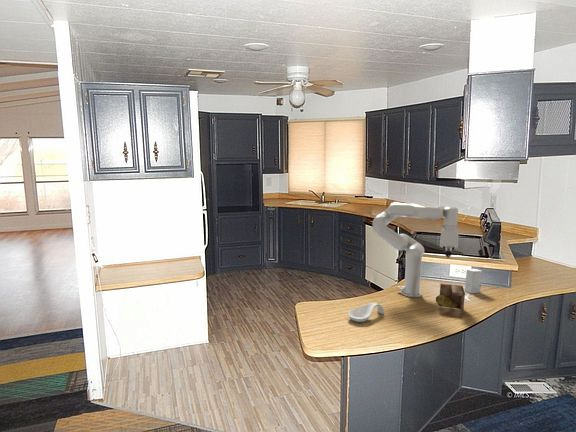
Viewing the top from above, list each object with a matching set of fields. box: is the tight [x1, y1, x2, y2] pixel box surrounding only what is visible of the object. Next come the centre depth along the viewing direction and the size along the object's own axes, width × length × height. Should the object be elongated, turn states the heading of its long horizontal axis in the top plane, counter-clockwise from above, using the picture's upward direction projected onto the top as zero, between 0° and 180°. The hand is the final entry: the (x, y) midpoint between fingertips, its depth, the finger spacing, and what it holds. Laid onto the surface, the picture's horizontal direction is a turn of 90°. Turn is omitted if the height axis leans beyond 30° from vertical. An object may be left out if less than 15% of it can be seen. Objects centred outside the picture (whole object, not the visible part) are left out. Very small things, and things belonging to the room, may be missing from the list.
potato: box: [435, 294, 459, 309], centre depth 242 cm, size 8×13×8 cm, turn 26°
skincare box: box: [464, 268, 483, 294], centre depth 275 cm, size 8×6×15 cm
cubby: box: [439, 282, 466, 318], centre depth 241 cm, size 12×14×14 cm
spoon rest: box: [347, 302, 385, 323], centre depth 229 cm, size 24×12×7 cm, turn 127°
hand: (447, 257), depth 255 cm, fingers closed
